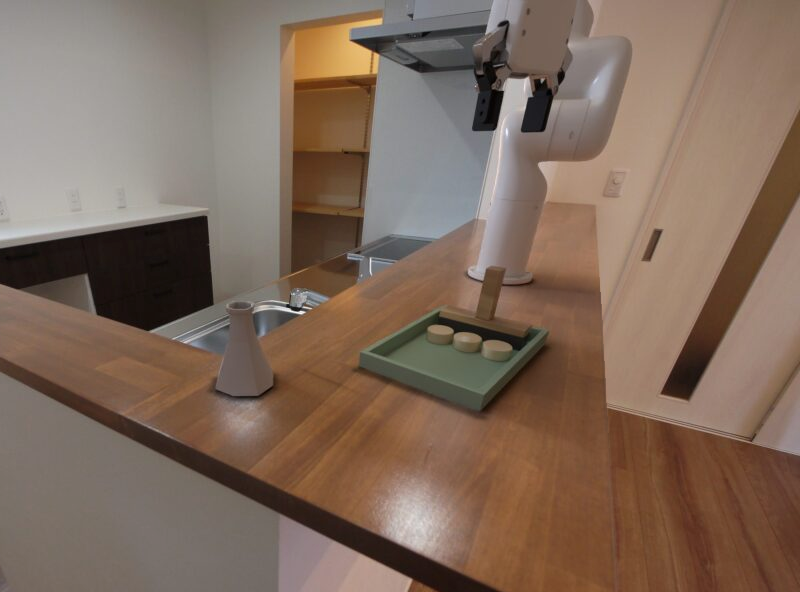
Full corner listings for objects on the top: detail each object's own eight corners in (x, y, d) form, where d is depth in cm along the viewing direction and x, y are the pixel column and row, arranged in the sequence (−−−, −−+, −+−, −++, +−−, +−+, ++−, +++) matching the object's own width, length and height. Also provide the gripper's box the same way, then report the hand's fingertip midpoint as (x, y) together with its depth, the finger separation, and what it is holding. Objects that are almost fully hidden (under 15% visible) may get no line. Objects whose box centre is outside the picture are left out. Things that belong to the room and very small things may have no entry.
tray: (440, 320, 70) (443, 304, 69) (544, 347, 61) (549, 330, 59) (358, 369, 55) (359, 351, 54) (478, 415, 46) (484, 395, 44)
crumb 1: (432, 332, 64) (434, 322, 63) (456, 338, 62) (458, 329, 61) (421, 339, 62) (423, 329, 61) (445, 346, 60) (447, 336, 59)
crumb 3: (486, 347, 59) (489, 337, 59) (513, 355, 57) (516, 344, 56) (476, 355, 57) (478, 345, 56) (504, 364, 55) (507, 353, 54)
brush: (445, 323, 67) (457, 259, 62) (526, 344, 60) (547, 274, 55) (436, 328, 65) (448, 262, 60) (519, 351, 58) (540, 278, 53)
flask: (229, 366, 56) (223, 292, 51) (282, 373, 54) (281, 297, 49) (204, 393, 50) (195, 312, 45) (263, 402, 48) (259, 319, 43)
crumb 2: (458, 339, 62) (460, 329, 61) (483, 346, 60) (486, 336, 59) (447, 347, 59) (449, 337, 59) (473, 355, 57) (475, 344, 56)
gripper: (561, -27, 53) (523, 133, 61) (466, -56, 45) (438, 131, 54) (628, -48, 47) (576, 132, 56) (532, -85, 40) (489, 129, 48)
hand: (508, 131), depth 55 cm, fingers open, 9 cm apart
